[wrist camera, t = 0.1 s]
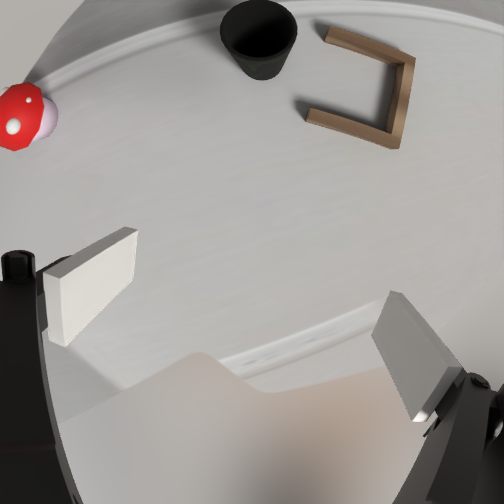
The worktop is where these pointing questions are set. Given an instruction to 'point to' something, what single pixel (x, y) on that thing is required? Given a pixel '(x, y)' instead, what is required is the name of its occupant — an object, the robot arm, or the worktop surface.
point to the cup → (259, 36)
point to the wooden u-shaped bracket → (399, 96)
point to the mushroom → (25, 116)
